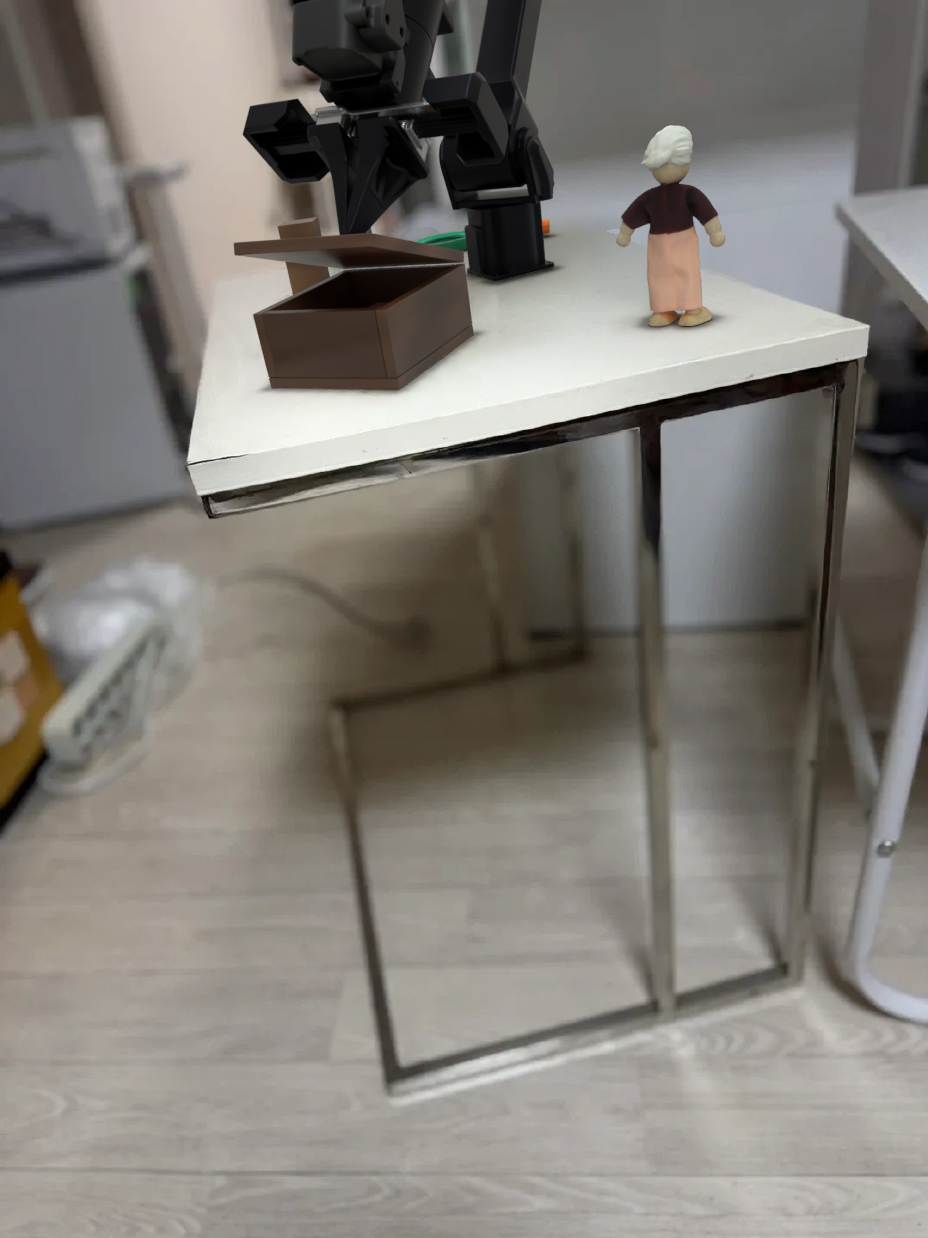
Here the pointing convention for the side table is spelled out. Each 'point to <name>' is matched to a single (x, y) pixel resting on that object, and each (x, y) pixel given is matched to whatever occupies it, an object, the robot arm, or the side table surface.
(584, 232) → the side table surface
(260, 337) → the chest
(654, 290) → the grandmother figurine
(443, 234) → the magnifying glass
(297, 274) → the stand
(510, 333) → the side table surface
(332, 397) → the side table surface
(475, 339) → the side table surface
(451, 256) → the lid
